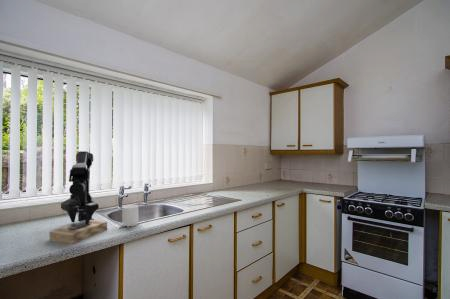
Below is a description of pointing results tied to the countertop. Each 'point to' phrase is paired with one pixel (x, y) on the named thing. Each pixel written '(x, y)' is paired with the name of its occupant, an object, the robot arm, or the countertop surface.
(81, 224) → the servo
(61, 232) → the chassis board
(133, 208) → the mug
